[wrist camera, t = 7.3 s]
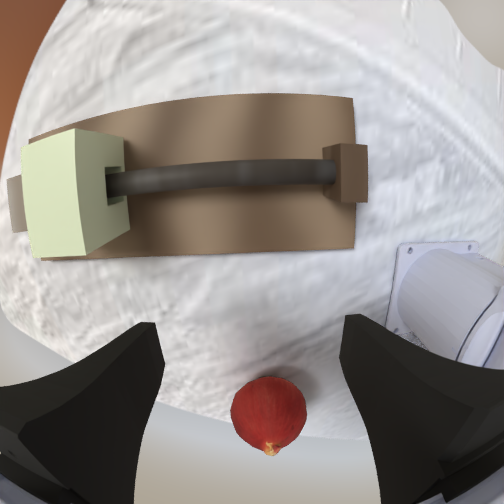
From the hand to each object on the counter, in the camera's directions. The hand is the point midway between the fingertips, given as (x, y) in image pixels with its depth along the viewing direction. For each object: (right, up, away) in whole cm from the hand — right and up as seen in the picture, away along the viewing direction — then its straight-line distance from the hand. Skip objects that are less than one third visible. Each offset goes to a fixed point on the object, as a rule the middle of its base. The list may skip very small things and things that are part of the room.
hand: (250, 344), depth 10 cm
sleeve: (-10, +8, +6) cm, 14 cm away
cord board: (-5, +8, +7) cm, 12 cm away
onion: (+1, -8, +12) cm, 15 cm away
